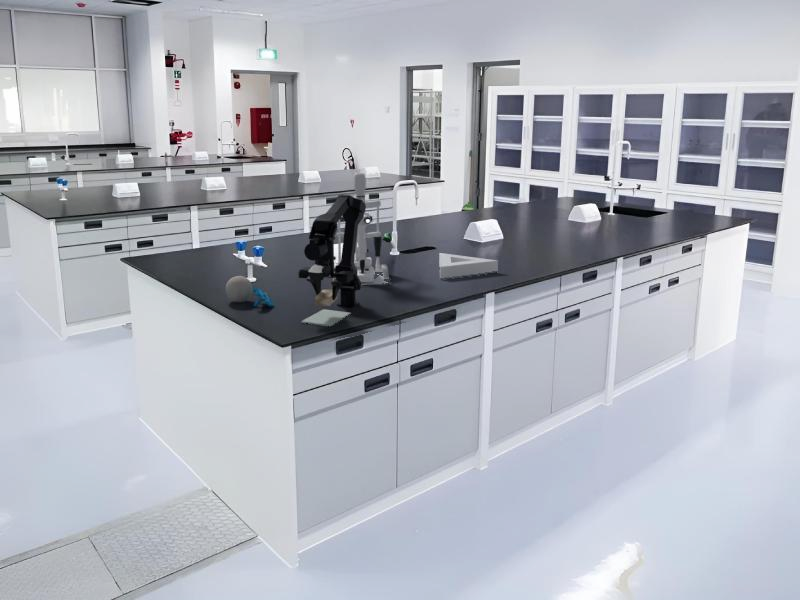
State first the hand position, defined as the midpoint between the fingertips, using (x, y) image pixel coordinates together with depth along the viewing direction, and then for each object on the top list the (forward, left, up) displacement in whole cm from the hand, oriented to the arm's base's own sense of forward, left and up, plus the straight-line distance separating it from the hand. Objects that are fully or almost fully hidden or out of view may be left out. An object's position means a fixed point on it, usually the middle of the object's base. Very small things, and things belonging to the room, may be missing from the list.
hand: (326, 298), depth 241 cm
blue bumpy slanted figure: (-5, -29, -7) cm, 30 cm away
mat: (0, 0, -7) cm, 7 cm away
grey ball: (-6, -40, -7) cm, 41 cm away
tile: (0, 0, -1) cm, 1 cm away
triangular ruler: (-89, +25, -8) cm, 93 cm away
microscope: (-58, -14, -7) cm, 60 cm away
